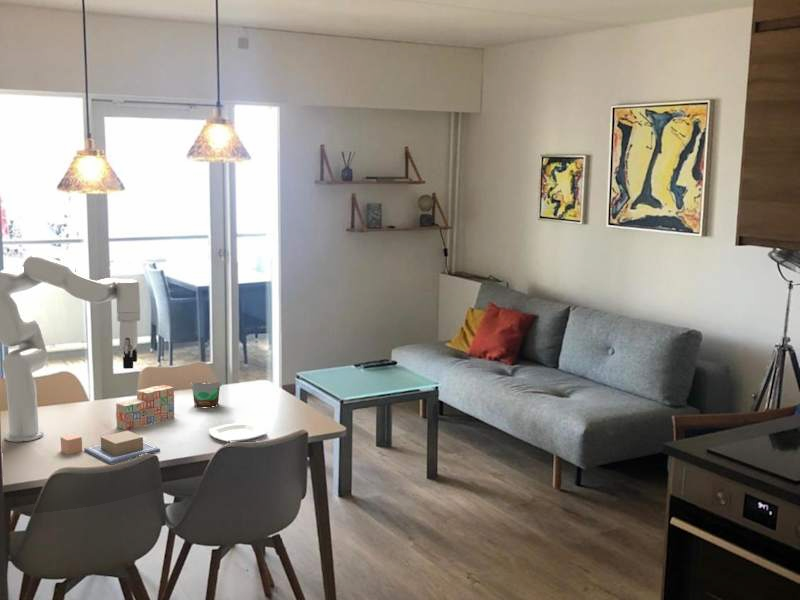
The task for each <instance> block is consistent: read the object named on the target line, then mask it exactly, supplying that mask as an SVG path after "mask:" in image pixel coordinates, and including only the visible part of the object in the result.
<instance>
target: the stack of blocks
mask: <svg viewBox="0 0 800 600" xmlns="http://www.w3.org/2000/svg"><path fill="white" fill-rule="evenodd" d="M150 387H151V388H149V387H147V388H144V389H143V388H142V389H137V390H136V398H133V399H129V400H124V401H120V402H116V403H115V406H116V409H115V410H116V411H115V416H116V419H115V420H116V427H117V428H119V429H122V430H124V431H129V430H131V429H135V428H140V427H144V426H148V425H151V423H152V424H154V422H156V423H158V421H160V422H163V421H162V420H164V421H167V420H166V419H168V420H170V419H169V418H172V419H174V418H175V395H174V394H175V389H174V387H173V386H169V385H165V384H162V385H156V386H150ZM173 417H174V418H173ZM147 424H148V425H147Z"/></svg>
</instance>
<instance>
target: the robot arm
mask: <svg viewBox="0 0 800 600" xmlns="http://www.w3.org/2000/svg"><path fill="white" fill-rule="evenodd" d="M42 283H44V284H48V285H51V286H54V287H58V288H60V289H63V290H64V291H65V292H66V293H68V294H70V296H72V297H74V298H77V299H79V300H83V301H85V302H89V303H93V304H102V303H103V304H104V303H106V302H108V301H109V302H110V301H113V300H116V317H117V320H116V321H117V322H119V350H120V351H123V355H122V367H123V369H134V363H137V362H138V350H137V346H138V342H139V341H138V322H139V321H141V302H140V301H141V300H140V299H141V298H140V297H141V295H140V283H139V281H137V280H136V279H119V278H113V277H106V278H103V279H99V280H93V279H90V278H87V277H84V276H82V275H79V274H77V269H76V267H75V266H74V265H72V264H69V263H65V262H62V261H61V259H60V258H59V257H58V256H57V255H56V254H54V253H52V252H44V253H43V252H42V253H38V254H32V255H30V256H28V257H27V258H26V259H25V260H24V262H23V264H21V265H20V266H16V267H11V268H10V267H9V268H6V269H1V270H0V343H1V345H3V346H4V347H6V348H12V347H13V348H14V347H16V346H18V347H19V348H18V349H17V348H16V349H15V350H12V351H10V352H9V353H8V354H6V356H5V357H4V359H3V360H2V371H3V376H4V380H5V386H6V397H7V414H8V415H7V416H8V432H6V433H5V434H4V440H6V441H8V442H12V443H13V442H14V443H22V442H23V441H24V442H30V441H35V440H37V439H40V438H42V437H43V436H44V430H42V429H40V428H39V414H38V413H39V412H38V397H37V396H38V394H37V384H36V381H35V378H34V377H33V376H34V375H33V373H34V372H37V371H39V370H41V369H42V368H44V367H45V366H46V364H47V362H48V352H47V348H46V345H45V342H44V338H43V334H42V331H41V328H40V326H39V323H38V322H37V320H36V319H34V318H33V317H31V316H28V315H20V312H19V309H18V306H17V303H16V302H15V300H14V299H13V297H11V295H12V294H14V293H19V292H23V291H26V290H27V291H28V290H29V289H32V288H33V287H35V286H36V287H37V286H38V285H40V284H42Z"/></svg>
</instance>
